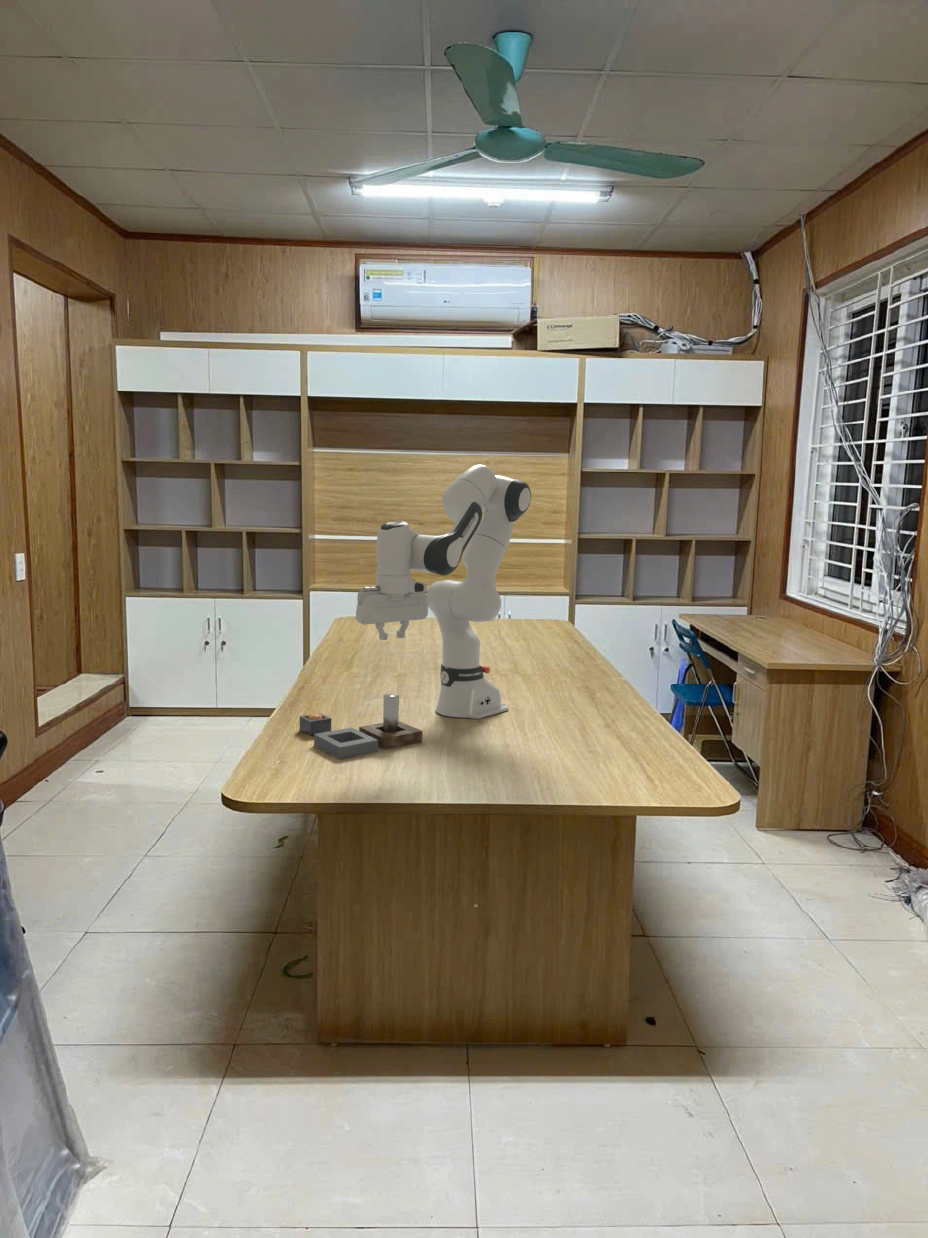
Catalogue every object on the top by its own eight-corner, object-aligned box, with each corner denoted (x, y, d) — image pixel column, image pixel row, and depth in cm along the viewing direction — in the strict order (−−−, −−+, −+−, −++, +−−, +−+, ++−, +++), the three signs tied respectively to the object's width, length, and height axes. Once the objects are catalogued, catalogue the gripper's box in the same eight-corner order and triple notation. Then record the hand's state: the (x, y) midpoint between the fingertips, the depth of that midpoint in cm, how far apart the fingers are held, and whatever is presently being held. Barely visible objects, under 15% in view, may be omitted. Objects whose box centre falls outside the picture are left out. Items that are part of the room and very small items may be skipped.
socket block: (396, 730, 231) (397, 720, 231) (422, 741, 222) (422, 730, 221) (359, 737, 224) (359, 726, 223) (383, 749, 214) (383, 738, 214)
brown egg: (318, 725, 230) (318, 712, 230) (324, 728, 227) (324, 716, 227) (306, 727, 228) (306, 714, 227) (312, 730, 225) (312, 717, 225)
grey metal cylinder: (392, 736, 225) (393, 693, 224) (401, 740, 222) (401, 696, 220) (379, 739, 223) (380, 694, 221) (388, 743, 220) (389, 698, 218)
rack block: (351, 738, 223) (351, 727, 222) (377, 751, 213) (378, 740, 212) (314, 745, 216) (314, 734, 216) (339, 759, 206) (339, 747, 206)
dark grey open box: (320, 727, 232) (320, 712, 232) (331, 732, 227) (331, 718, 227) (299, 730, 228) (299, 716, 228) (310, 736, 224) (310, 721, 223)
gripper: (364, 589, 207) (363, 644, 210) (432, 585, 220) (430, 637, 222) (351, 586, 212) (350, 640, 214) (418, 582, 225) (417, 633, 227)
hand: (392, 638), depth 218 cm, fingers open, 4 cm apart
